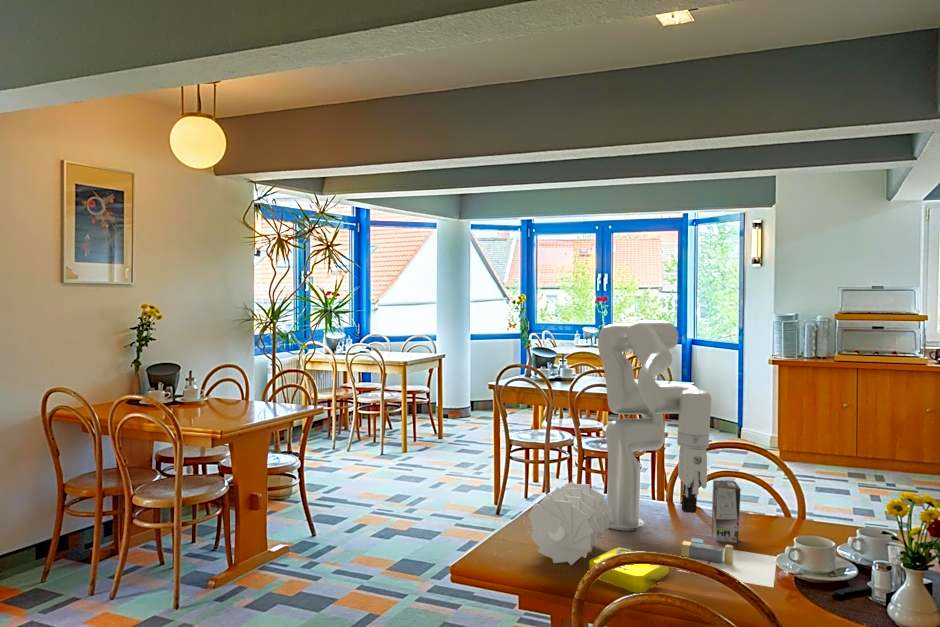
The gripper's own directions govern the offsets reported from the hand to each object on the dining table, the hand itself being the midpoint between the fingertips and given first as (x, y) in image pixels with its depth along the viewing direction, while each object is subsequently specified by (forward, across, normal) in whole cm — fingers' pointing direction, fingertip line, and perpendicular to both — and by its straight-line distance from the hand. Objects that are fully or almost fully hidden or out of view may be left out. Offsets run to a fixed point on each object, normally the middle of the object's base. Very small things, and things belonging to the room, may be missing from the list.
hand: (688, 511), depth 185 cm
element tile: (+15, -7, +16) cm, 23 cm away
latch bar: (+13, +4, -5) cm, 15 cm away
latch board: (+14, +1, -11) cm, 18 cm away
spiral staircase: (+16, +8, +28) cm, 33 cm away
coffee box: (+16, +22, -17) cm, 32 cm away
